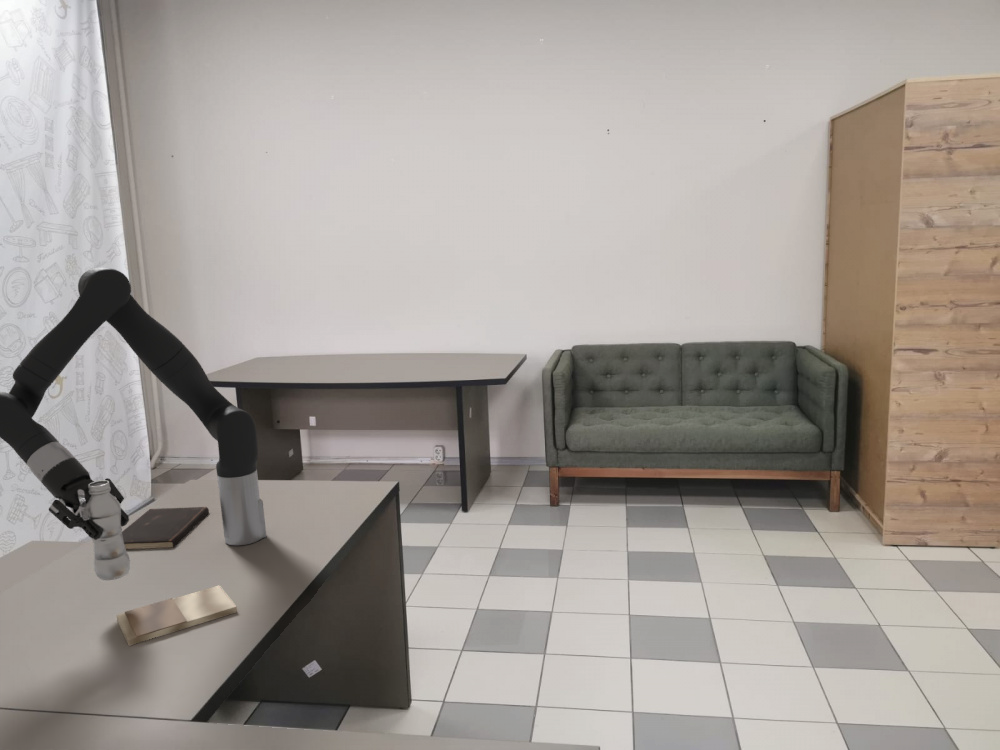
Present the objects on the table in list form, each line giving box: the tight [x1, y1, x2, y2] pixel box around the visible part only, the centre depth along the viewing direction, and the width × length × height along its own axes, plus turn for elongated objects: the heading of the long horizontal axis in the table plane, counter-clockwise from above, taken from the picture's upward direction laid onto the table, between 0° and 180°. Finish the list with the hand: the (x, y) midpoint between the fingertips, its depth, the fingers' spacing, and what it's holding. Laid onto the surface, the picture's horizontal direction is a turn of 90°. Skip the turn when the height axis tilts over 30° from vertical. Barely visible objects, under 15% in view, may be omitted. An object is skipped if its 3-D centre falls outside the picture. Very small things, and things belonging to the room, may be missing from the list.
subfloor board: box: [116, 585, 238, 647], centre depth 155 cm, size 20×12×1 cm, turn 125°
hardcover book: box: [121, 506, 210, 550], centre depth 201 cm, size 16×23×2 cm
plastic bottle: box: [86, 479, 131, 581], centre depth 156 cm, size 6×7×20 cm
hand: (113, 529), depth 155 cm, fingers closed on plastic bottle, 6 cm apart
